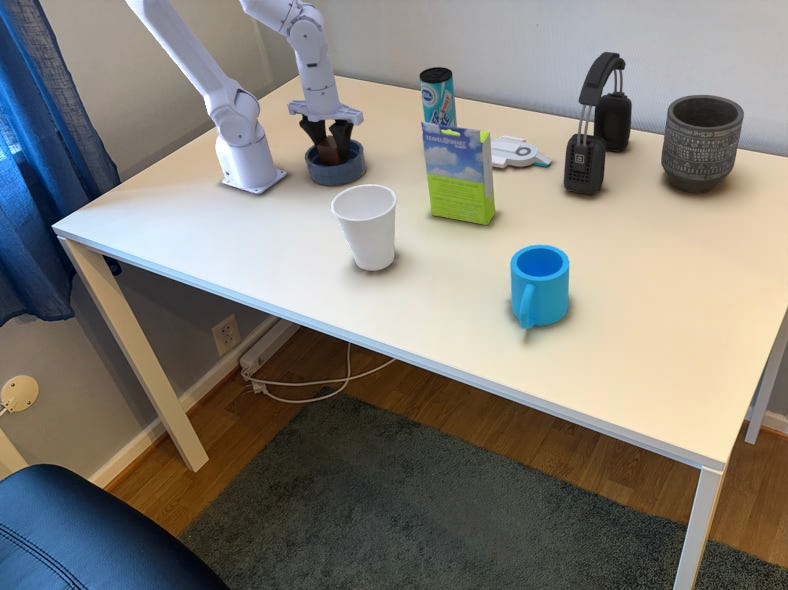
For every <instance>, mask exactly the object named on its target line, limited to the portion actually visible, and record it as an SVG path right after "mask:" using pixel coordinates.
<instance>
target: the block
mask: <svg viewBox="0 0 788 590" xmlns="http://www.w3.org/2000/svg"><path fill="white" fill-rule="evenodd" d="M317 147H318V152H319V156H320V160H321V164H322V165H325V166H337V165H341V164H345V163H346V162H347V161H348V160H349V159H350V158H351V155H349V156H348V157H346V158H345V159H344V160H343V159H341V158H340V155H339V153H338V149H337V145H336V142H335V140H334V137H333V135H332V134H331V135H330V134H328V135H327V137H326V138H325V139H324V140H323V141H321V142H320V143H319V144H318V145H317Z"/></svg>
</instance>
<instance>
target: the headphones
mask: <svg viewBox="0 0 788 590" xmlns="http://www.w3.org/2000/svg"><path fill="white" fill-rule="evenodd" d="M620 56H621V55H620V53H618V52H611V51H604V52H602V53H601V54H600V55H598V57H596V59H595V60H594V61H593V62H592V64H591V65H590V68H589V69H588V71H587V74H586V76H585V79H584V81H583V84H582V87H581V90H580V94H579V97H578V101H577V102H578V103H579V104H580V105H582V108H581V112H580V117H579V123H578V130H577V133H574V134H573V135H571V137H570V138H569V139H568V140H567V144H566V148H565V157H564V168H563V169H564V170H563V186H564V189H565V190H567V191H570V192H574V193H579V194H584V195H595V194H597V193H598V192H599V191H600V190H601V189H602V187H603V183H604V179H605V169H606V168H605V166H606V165H605V164H606V155H607V154H606V152H607V151H611V152H612V151H613V152H622V151H624V150H626V148H627V147H628V144H629V140H630V137H631V131H632V130H631V129H632V111H633V109H632V108H633V104H632V100H631V99H630V98H628V95H626V94H625V92H624V91H623V85H624V84H623V83H624V81H623V80H624V79H623V78H624V76H623V71H625V69H626V64H627V63H626V61H625V60H624V58H623V57H620ZM617 71H619V91H618V73H617ZM612 73H613V76H614V77H613V78H614V79H613V81H614V88H613V92H612V93H611V92H608V93H607V94H604V95H603V91H604V88H605V86H606V85H607V82H608V80H609V78H610V76H611V74H612ZM587 106H588V109H587V114H586V118H585V124H584V131H583V133H582V126H583V120H584V116H585V112H586V108H587ZM593 107H594V114H593V115H594V116H593V135H592V134H588V128H589V123H590V117H591V112H592V109H593Z"/></svg>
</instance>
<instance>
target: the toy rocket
mask: <svg viewBox="0 0 788 590" xmlns="http://www.w3.org/2000/svg"><path fill="white" fill-rule="evenodd" d="M490 140H491V157H492V167H494V168H495V167H496V168H500V169H505V168H507V167H508V166H513V167H526V166H531V165H535V166H540V167H546V168H547V167H548V166H549V165H550V163H551V162H552V159H551V158H550V157H548V156H546V155H544V154H543V153H541V152H539V148H538V147H537V146H536V145H535V144H533V143H531V142H526V141H527V140H526V138H521V137H517V136H511V135H501V136H500V137H499V136H498V137H496V138H495V139H491V138H490Z"/></svg>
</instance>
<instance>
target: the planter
mask: <svg viewBox="0 0 788 590" xmlns="http://www.w3.org/2000/svg"><path fill="white" fill-rule="evenodd" d="M744 116H745V111H744V109H743V108H742V106H741V105H740V104H738V103H737V102H736V101H734V100H732V99H729V98H726V97H722V96H718V95H710V94H693V95H685V96H681V97H679V98H677V99H675V100H674V101H672V102H671V103H670V104H669V105H668V107H667V111H666V120H665V126H664V128H665V129H664V135H663V142H662V149H661V157H660V159H661V160H660V163H661V166H662V169H663V171H664V174H665V175H666V177H667V179H668V181H670V183H671V185H672V186H673V187H674V188H676V189H678V190H679V191H683V192H687V193H693V194H700V193H707V192H710V191H713V190H714V189H715V188H717V186H720V184H721V183H722V182H723V181H724V180H725V179H726V178H727V177H728V176H729V174H731V172H732V171H733V169H734V166H735V164H736V163H735V162H736V157H737V152H738V146H739V143H740V139H741V132H742V128H743V126H742V125H743V122H744V118H745V117H744Z"/></svg>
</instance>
